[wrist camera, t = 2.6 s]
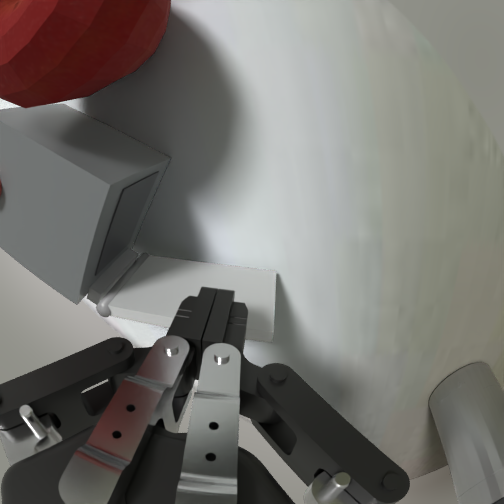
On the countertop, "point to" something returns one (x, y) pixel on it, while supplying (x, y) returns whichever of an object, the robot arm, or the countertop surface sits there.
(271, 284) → the side door
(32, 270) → the grey box with button
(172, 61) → the countertop surface
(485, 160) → the countertop surface
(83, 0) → the apple
